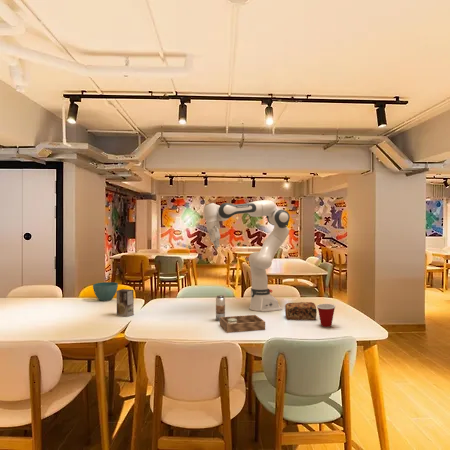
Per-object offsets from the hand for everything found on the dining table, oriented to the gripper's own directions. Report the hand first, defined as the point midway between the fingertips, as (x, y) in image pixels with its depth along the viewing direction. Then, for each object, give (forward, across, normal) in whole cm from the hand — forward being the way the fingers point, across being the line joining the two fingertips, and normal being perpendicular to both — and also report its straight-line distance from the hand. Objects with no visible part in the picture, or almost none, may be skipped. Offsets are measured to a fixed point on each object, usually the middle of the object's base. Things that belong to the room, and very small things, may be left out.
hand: (217, 247), depth 251 cm
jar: (+49, -32, +6) cm, 59 cm away
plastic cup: (+59, -34, -49) cm, 83 cm away
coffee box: (+32, +9, +66) cm, 74 cm away
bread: (+54, -15, -41) cm, 70 cm away
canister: (+45, -12, +9) cm, 48 cm away
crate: (+50, -29, -1) cm, 58 cm away
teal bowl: (+20, +58, +84) cm, 104 cm away
